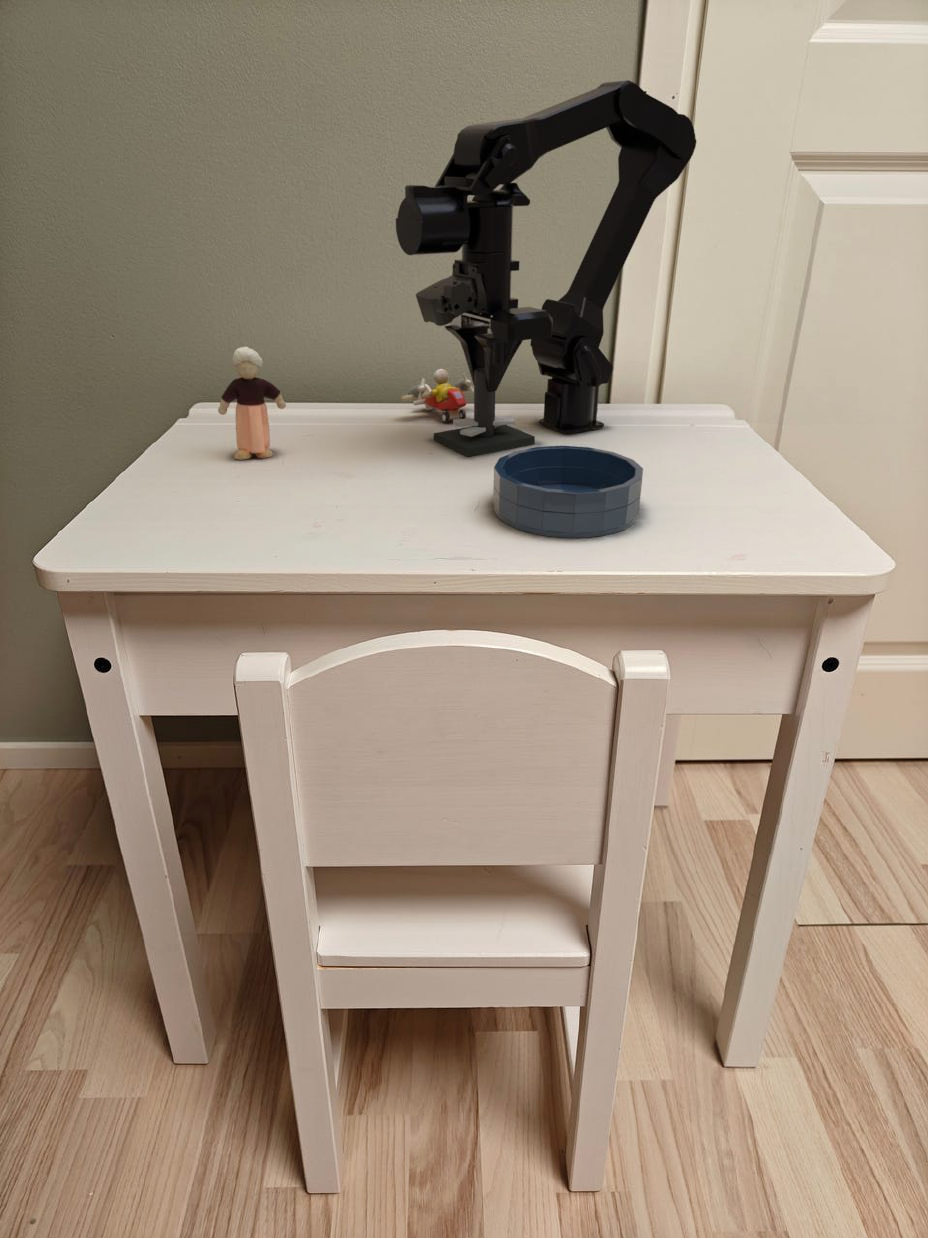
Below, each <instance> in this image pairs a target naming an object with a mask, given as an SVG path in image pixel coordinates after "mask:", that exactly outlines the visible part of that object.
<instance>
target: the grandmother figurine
mask: <svg viewBox="0 0 928 1238" xmlns="http://www.w3.org/2000/svg"><path fill="white" fill-rule="evenodd" d="M232 363H233V367H234V368H235V370H236V372H237V374H238V376H239V377H238V378H235V379H233V380H231V382H230V383H229V385H228V386H227V387H226V389H225V390H224V391H223V394H222V395H221V400H220V403H219V407H218V409H217V413H219V415H221V416H224V415H226V414H227V413H228V408H229V407H230V404H231V403H232V402H234V401H235V400H236V405H235V436H236V448H237V449H238V450H237V451H236V452H235V454H234V456H233V457H234V459H235V460H239V461H240V460H249V459H251V458H252V454H255V457H256V458H259V459H265V458H266V459H267V458H271V457H273V456H274V453H273V452H272V450H270V449H269V448H270V446H271V433H270V422H269V414H268V406H267V403H266V402H265V398H266V399H269V400H273V402H274V403H275V404H276V407H277V409H280V410H283V409H285V408H286V406H287V402H286V401H285V400H284V397H282V394H281V390H280V389H279V388H278V387H276V385H274V384H272V382H270V381H268V380H266V379H263V378H261V377H257V376H258V375H259V371H260V369H261V368H262V366H263V364H264V363H263V359H262V357H261V356H260V354H259V353H258V352H257V351H256V350H254V349H253V348H249V347H248V346H241V347H237V349H235V351H234V353H233V355H232Z"/></svg>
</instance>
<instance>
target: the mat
mask: <svg viewBox="0 0 928 1238" xmlns="http://www.w3.org/2000/svg"><path fill="white" fill-rule="evenodd" d="M468 427H469V426H466V427H459V428H455V429H450V430H449V429H448V430H443V431H438V432H434V433H433V442H436V443H438V444H441V445H442V446H444V447H446V448H448V449H451V450H453V451H455V452H456V453H459V454H461V455H463V456H465V457H467V458H469V457H474V456H480V455H485V454H490V453H495V452H500V451H506V450H510V449H515V448H521V447H525V446H532V445H535V444H536V443H535V441H536V436H535V435H532V434H530V433H527V432H525V431H523V430H521V429H518V428H516V427H513V426H511V425H501V426H499V427H496V428H495V434H494V436H491V437H478V436H472V437H471V436H466V435H462V434H460V430H463V429H466V428H468Z"/></svg>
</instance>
